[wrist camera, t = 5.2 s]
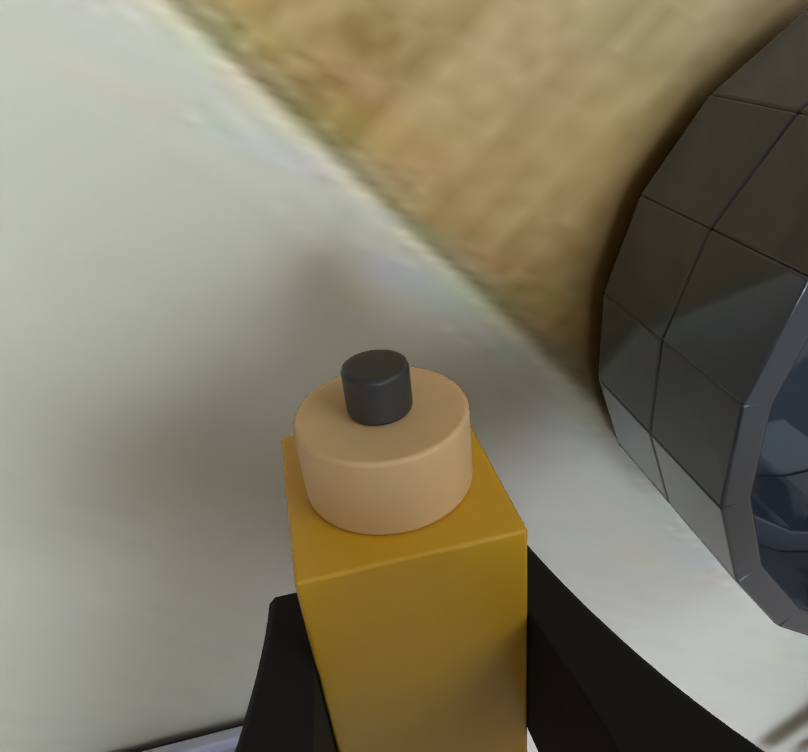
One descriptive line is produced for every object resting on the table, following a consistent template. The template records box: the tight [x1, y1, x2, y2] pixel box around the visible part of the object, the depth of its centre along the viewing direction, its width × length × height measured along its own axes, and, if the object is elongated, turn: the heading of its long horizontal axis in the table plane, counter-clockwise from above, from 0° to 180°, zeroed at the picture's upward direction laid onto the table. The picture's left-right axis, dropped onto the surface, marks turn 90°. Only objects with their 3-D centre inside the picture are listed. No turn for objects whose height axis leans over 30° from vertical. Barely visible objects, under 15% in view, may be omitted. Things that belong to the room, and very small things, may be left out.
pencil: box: [281, 350, 527, 752], centre depth 11 cm, size 10×3×3 cm, turn 6°
